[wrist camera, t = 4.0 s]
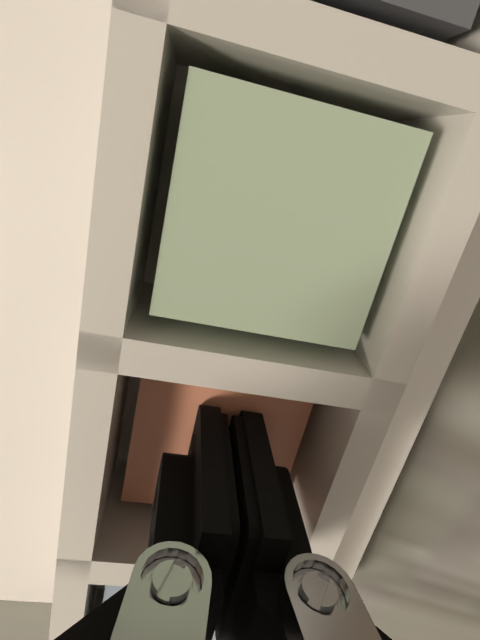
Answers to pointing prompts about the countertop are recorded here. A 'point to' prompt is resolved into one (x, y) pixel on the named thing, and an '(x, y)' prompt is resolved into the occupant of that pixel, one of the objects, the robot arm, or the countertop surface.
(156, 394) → the key
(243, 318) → the key
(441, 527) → the countertop surface
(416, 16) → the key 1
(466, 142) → the white compartment tray
